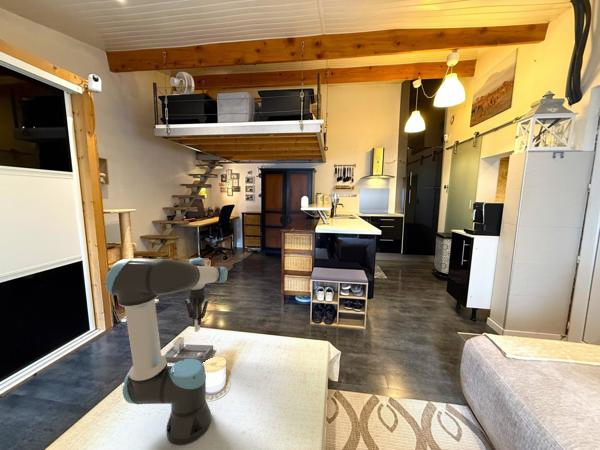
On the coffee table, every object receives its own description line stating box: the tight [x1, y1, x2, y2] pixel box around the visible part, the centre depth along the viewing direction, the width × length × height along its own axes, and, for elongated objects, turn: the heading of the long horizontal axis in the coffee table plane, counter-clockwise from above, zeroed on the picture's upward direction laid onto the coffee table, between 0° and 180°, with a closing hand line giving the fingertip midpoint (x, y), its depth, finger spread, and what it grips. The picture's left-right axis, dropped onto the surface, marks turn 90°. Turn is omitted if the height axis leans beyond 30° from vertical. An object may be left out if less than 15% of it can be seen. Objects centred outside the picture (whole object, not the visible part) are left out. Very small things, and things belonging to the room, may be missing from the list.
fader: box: [173, 336, 185, 353], centre depth 132 cm, size 5×3×6 cm, turn 178°
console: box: [163, 343, 214, 364], centre depth 132 cm, size 12×22×4 cm, turn 88°
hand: (197, 330), depth 130 cm, fingers closed
